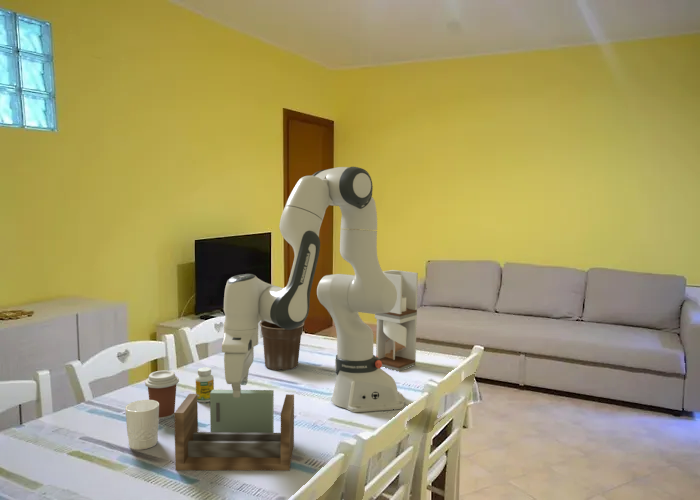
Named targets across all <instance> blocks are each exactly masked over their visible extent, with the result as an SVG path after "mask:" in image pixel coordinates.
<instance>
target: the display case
mask: <svg viewBox="0 0 700 500" xmlns="http://www.w3.org/2000/svg"><path fill="white" fill-rule="evenodd" d="M382 271H383V270H382ZM383 273H384V274H385V276H386V277H387V278H388V279H389V280H390V281H391V282H392V283H393V284H394V286H395V288H396V291H397V301H396V304H395V306H394V307H393V309H392V310H391V311H390V312H388V313H381V314H374V319H376V335H375V336H376V343H375V346H376V347H375V348H376V349H375V353H376V354H375V356H376V355H377V356H378V358H379V359H380V361H381V362H382V367H381V368H383V367H385V368H384V369H387V368H388V370H391V369H392V370H391V371H394V370H396V371H395V372H398V371H399V372H401V371H400V370H402V371H404V370H406V369H405V368H407V369H409V368H411V367H410V366H412V365H414V366H416V357H417V356H416V355H417V354H416V353H417V351H416V350H417V324H418V322H417V320H418V317H417V316H418V287H419V286H418V281H419V279H418V278H419V277H418V276H419V273H418V272H413V271H404V270H397V269H390V270H384V271H383ZM408 367H409V368H408ZM412 367H413V366H412ZM403 369H404V370H403Z"/></svg>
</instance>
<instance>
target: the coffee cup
mask: <svg viewBox="0 0 700 500" xmlns="http://www.w3.org/2000/svg"><path fill="white" fill-rule="evenodd" d="M179 382H180V379H179V377H178V376H176V373H175V372H174V371H172V370H157V371H153V372H151V373H150V374H149V375H148V378H146V380H145V381H144V385H145V387H147V391H148V392H147V393H148V400H154V401H157V402H158V403H159V421H160V420H161V421H162V420H167V419H171V418H173V417H175V416H174V413H175V412H176V396H177V385H178V384H179Z"/></svg>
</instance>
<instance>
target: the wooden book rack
mask: <svg viewBox="0 0 700 500" xmlns="http://www.w3.org/2000/svg"><path fill="white" fill-rule="evenodd" d="M198 413H199V411H198V401H197V394H196V393H189V394H187V396H186V397H185V399H184V400H183V401H182V402H181V404H180V405H179V407H177V409H175V413H174V416H173V417H174V454H175V455H174V456H175V458H174V459H175V460H174V463H175V467H174V468H175V471H283V472H284V471H285V472H286V471H287V472H288V471H290V469H291V463H292V459H293V454H294V447H295V394H285V398H284V400H283V405H282V408H281V410H280V432H274V433H242V432H211V431H208V432H207V431H205V432H204V431H203V432H202V431H200V432H199V420H198V419H199V418H198Z"/></svg>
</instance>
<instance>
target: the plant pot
mask: <svg viewBox="0 0 700 500" xmlns="http://www.w3.org/2000/svg"><path fill="white" fill-rule="evenodd" d="M259 326H260V328H261V335H262V343H263V356H264V357H263V358H264V366H265V368H267V369H269V370H273V371H279V370H283V371H288V370H294V369H297V367H298V365H299V359H300V349H301V348H300V347H301V339H302V335H303V329H304V326H305V321H304V322H303V323H302V324H301V325H300V326H299V327H297V328H295V329H292V330H286V329H283V328H281V327H279V326H277V325H276V324H273V323H270V322H267V321H265V320H261V321H259Z"/></svg>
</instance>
